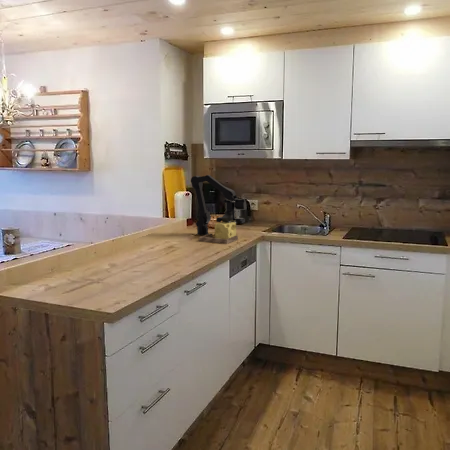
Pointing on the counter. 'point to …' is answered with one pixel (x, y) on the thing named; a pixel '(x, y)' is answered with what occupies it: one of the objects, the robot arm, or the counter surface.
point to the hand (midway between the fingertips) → (230, 232)
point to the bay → (217, 239)
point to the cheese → (225, 230)
